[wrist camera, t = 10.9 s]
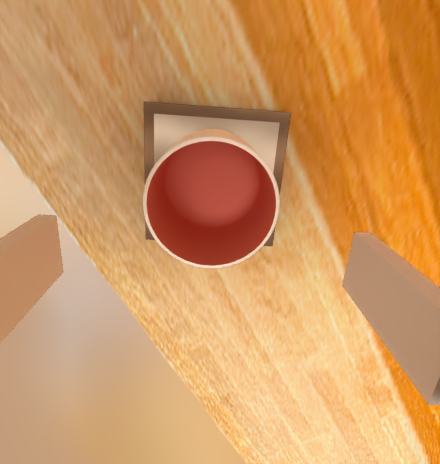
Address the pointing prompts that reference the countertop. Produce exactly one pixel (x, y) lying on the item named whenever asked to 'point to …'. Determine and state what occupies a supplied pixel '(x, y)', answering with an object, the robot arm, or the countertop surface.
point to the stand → (206, 117)
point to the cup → (211, 200)
